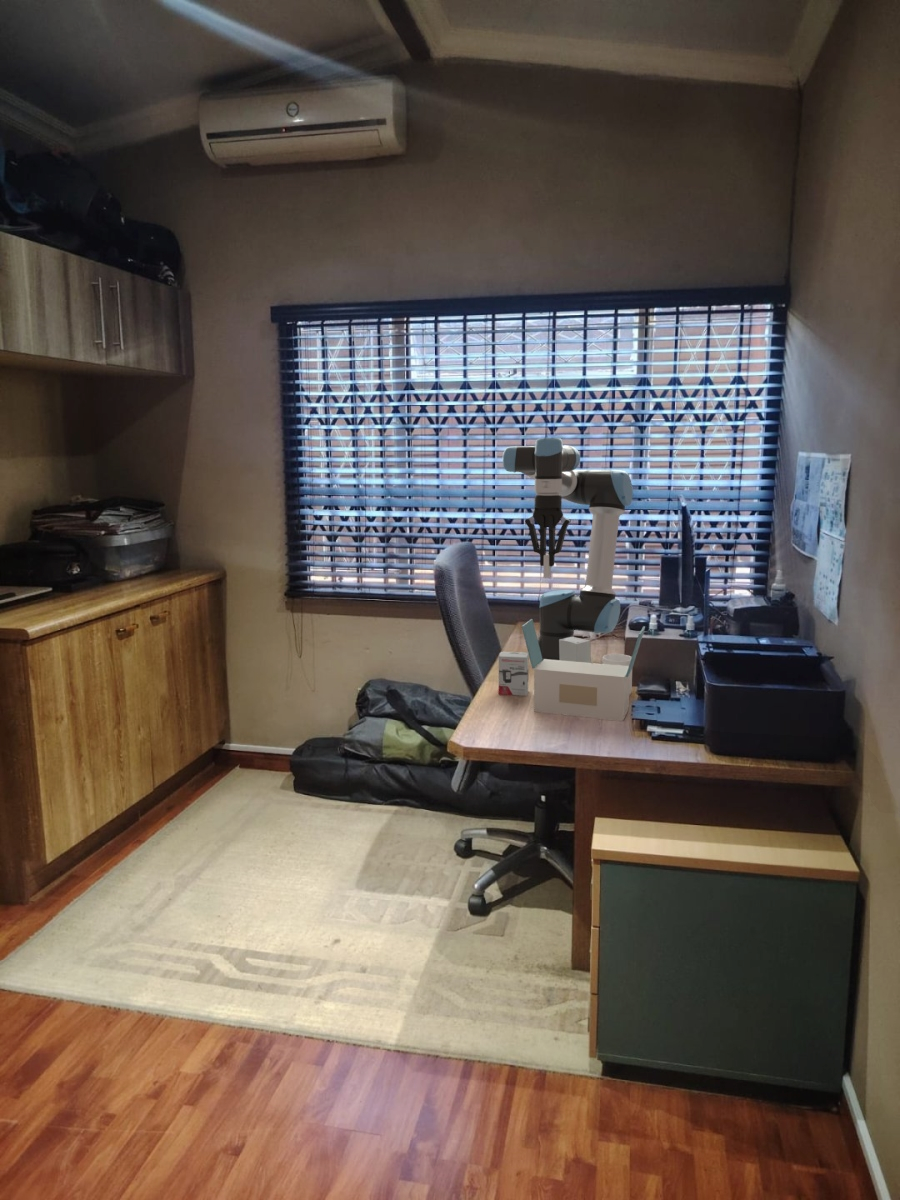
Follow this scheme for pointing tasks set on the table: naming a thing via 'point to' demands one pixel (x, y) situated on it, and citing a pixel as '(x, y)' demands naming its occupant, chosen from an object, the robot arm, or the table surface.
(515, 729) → the table surface
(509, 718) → the table surface
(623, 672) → the carton
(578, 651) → the skincare box
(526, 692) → the ink box
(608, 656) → the mug
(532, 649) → the flap
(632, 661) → the flap
